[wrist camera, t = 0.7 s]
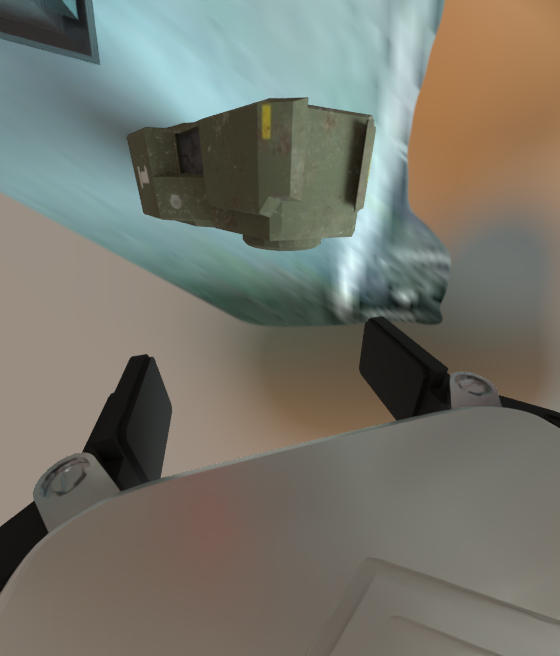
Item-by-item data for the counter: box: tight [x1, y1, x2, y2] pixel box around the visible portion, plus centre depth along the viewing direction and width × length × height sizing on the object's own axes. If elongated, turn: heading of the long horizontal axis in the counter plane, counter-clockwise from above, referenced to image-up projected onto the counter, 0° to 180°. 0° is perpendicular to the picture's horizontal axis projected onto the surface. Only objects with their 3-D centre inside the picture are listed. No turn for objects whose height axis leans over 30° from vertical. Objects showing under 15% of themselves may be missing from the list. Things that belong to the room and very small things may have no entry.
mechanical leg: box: [127, 97, 376, 251], centre depth 22 cm, size 14×7×30 cm, turn 89°
